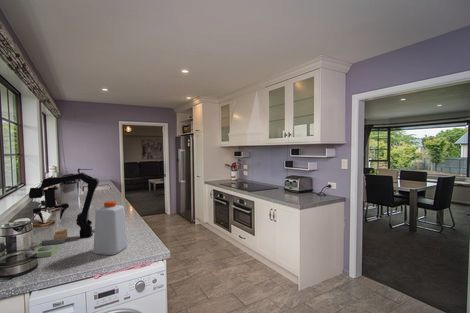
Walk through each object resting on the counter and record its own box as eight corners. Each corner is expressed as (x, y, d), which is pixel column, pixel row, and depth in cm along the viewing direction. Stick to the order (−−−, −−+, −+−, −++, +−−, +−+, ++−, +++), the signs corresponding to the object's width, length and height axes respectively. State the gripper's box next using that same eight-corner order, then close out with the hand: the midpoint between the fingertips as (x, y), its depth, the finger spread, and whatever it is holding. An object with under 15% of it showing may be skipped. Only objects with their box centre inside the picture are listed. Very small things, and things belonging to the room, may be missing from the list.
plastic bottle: (114, 256, 138) (113, 205, 137) (90, 254, 141) (88, 204, 140) (130, 245, 153) (129, 199, 152) (108, 244, 156) (107, 199, 155)
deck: (66, 242, 160) (65, 237, 160) (51, 256, 139) (51, 250, 139) (42, 244, 156) (41, 239, 156) (23, 258, 136) (23, 253, 136)
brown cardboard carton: (67, 237, 169) (67, 228, 168) (62, 242, 161) (62, 232, 161) (59, 238, 167) (58, 229, 167) (53, 242, 160) (53, 233, 159)
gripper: (64, 193, 175) (66, 215, 176) (30, 197, 162) (32, 222, 163) (68, 195, 167) (69, 218, 168) (32, 200, 154) (33, 225, 155)
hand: (51, 221), depth 164 cm, fingers open, 9 cm apart
